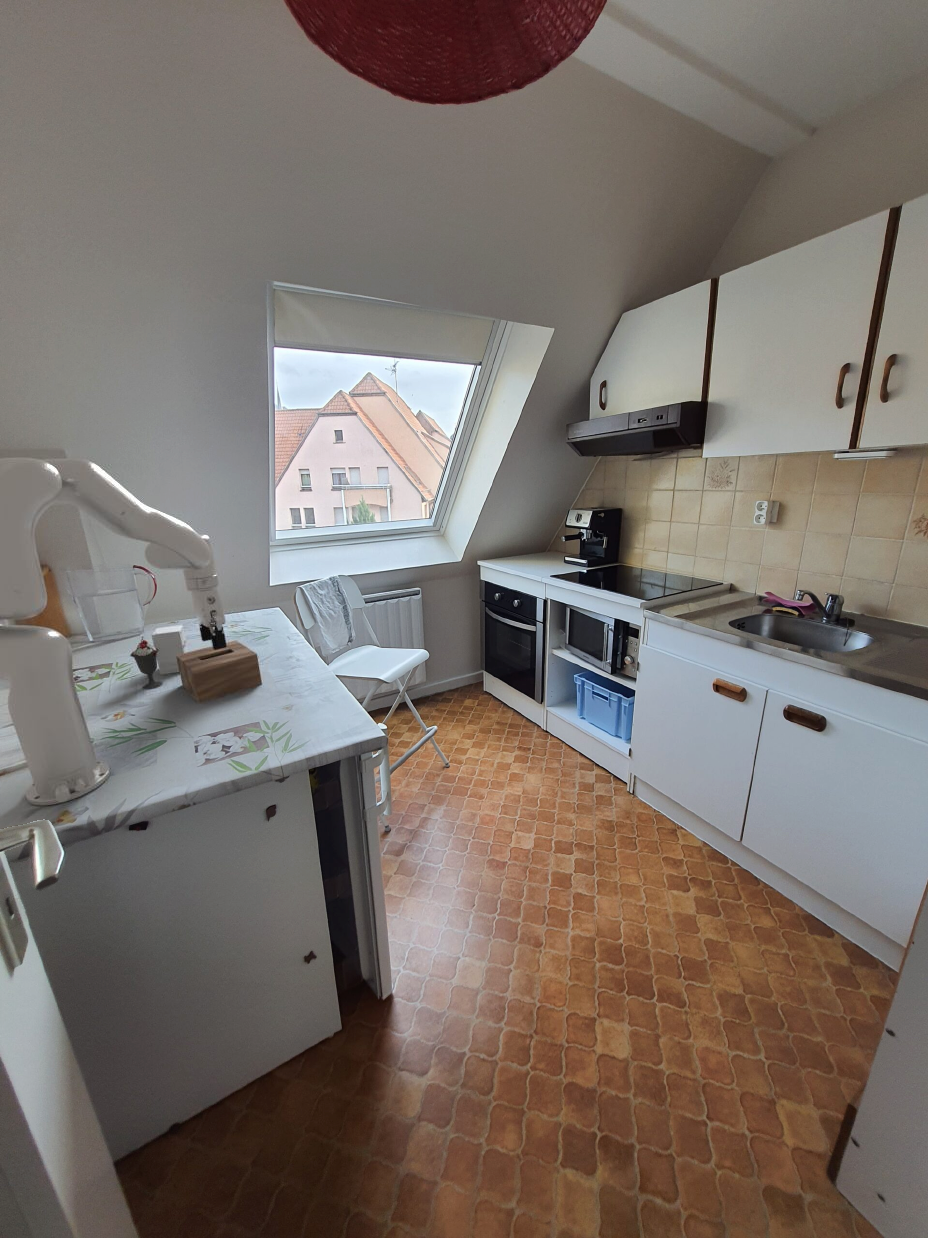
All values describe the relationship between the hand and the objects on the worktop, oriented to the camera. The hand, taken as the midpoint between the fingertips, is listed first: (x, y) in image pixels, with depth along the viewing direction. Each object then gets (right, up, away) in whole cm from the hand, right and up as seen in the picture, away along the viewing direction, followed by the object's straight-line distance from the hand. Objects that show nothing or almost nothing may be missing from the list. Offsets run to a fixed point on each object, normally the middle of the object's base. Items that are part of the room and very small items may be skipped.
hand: (214, 644), depth 130 cm
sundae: (-19, -12, +4) cm, 23 cm away
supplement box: (-20, -8, +16) cm, 27 cm away
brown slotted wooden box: (0, -11, +4) cm, 12 cm away
